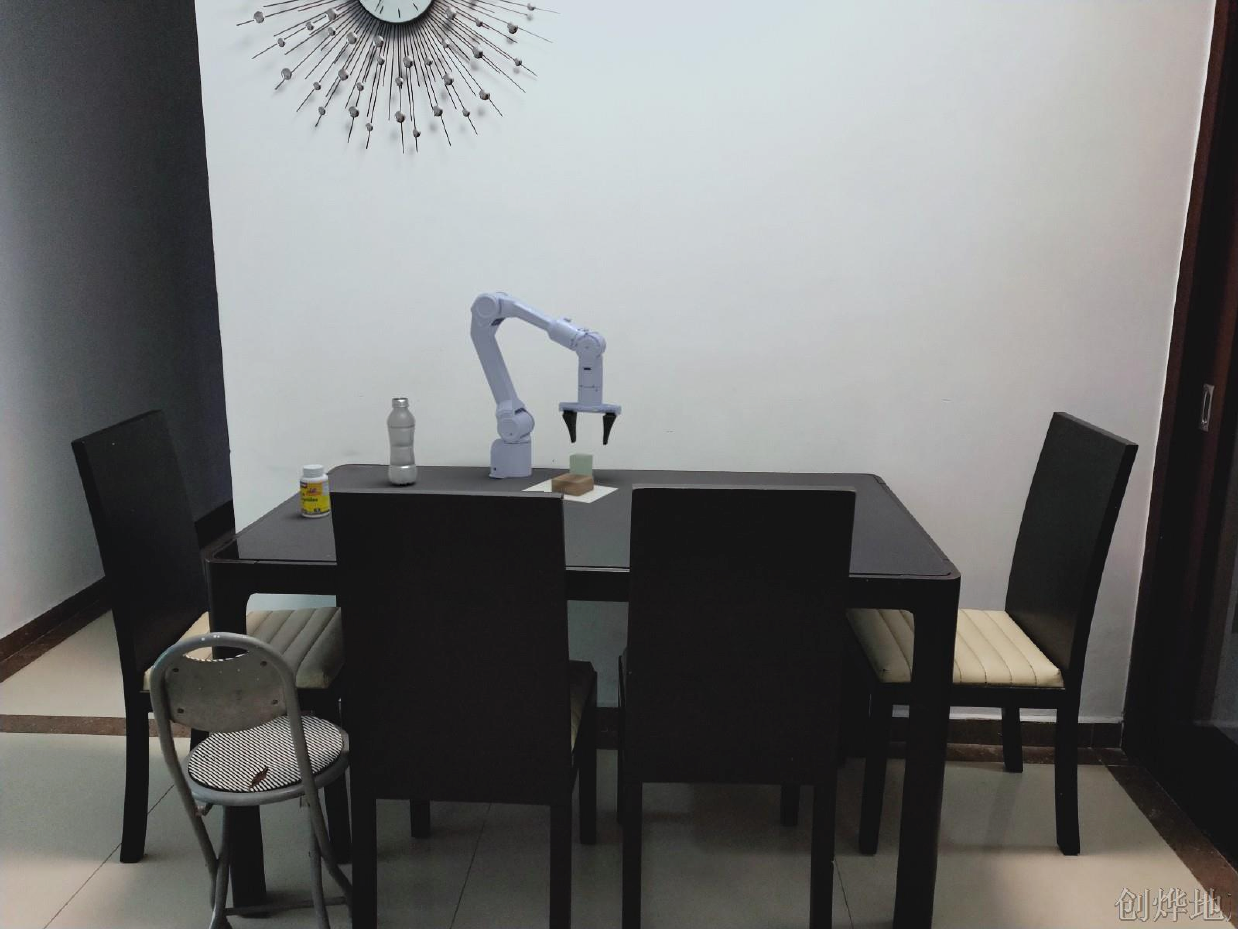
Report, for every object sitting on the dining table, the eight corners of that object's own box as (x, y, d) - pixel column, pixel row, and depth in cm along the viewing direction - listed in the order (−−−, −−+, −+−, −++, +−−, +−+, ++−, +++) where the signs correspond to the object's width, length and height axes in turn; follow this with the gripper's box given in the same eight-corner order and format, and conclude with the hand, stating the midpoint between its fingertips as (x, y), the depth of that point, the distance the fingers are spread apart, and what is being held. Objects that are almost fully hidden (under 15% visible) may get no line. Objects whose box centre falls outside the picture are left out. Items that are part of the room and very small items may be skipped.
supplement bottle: (296, 517, 192) (292, 468, 190) (312, 510, 197) (309, 462, 195) (319, 519, 190) (316, 470, 188) (335, 512, 196) (332, 464, 193)
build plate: (518, 495, 211) (518, 492, 210) (550, 482, 223) (550, 479, 223) (589, 506, 203) (589, 502, 203) (618, 491, 215) (618, 488, 215)
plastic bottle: (382, 485, 218) (379, 399, 213) (400, 479, 224) (396, 395, 219) (406, 488, 215) (403, 401, 211) (423, 482, 222) (420, 397, 217)
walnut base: (551, 492, 211) (551, 479, 210) (566, 485, 217) (566, 473, 216) (578, 496, 208) (579, 483, 207) (593, 489, 214) (593, 476, 213)
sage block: (569, 480, 225) (569, 456, 224) (577, 477, 229) (577, 452, 227) (584, 482, 223) (584, 457, 222) (592, 479, 227) (592, 454, 225)
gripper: (555, 386, 216) (554, 444, 219) (617, 389, 213) (616, 448, 216) (563, 382, 223) (562, 438, 226) (623, 385, 220) (622, 442, 223)
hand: (589, 443), depth 222 cm, fingers open, 7 cm apart
